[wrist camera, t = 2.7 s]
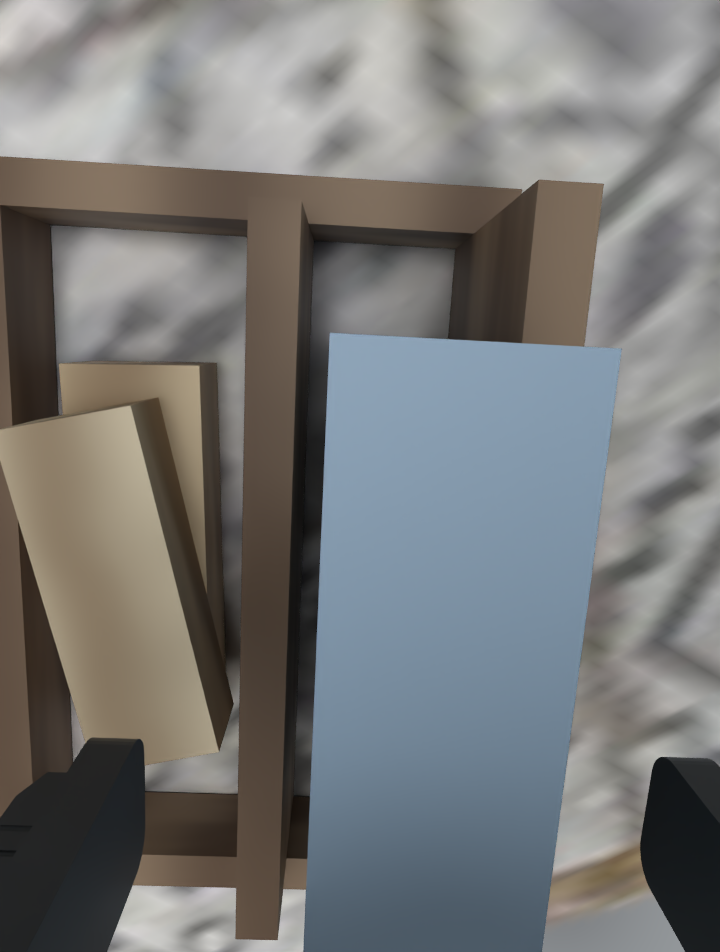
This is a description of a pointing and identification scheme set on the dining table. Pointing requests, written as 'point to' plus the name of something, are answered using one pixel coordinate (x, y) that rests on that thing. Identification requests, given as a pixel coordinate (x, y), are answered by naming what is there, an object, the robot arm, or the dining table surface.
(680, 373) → the dining table surface
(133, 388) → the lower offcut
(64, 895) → the robot arm
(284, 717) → the rack
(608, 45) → the dining table surface
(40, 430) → the upper offcut
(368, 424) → the tall panel
